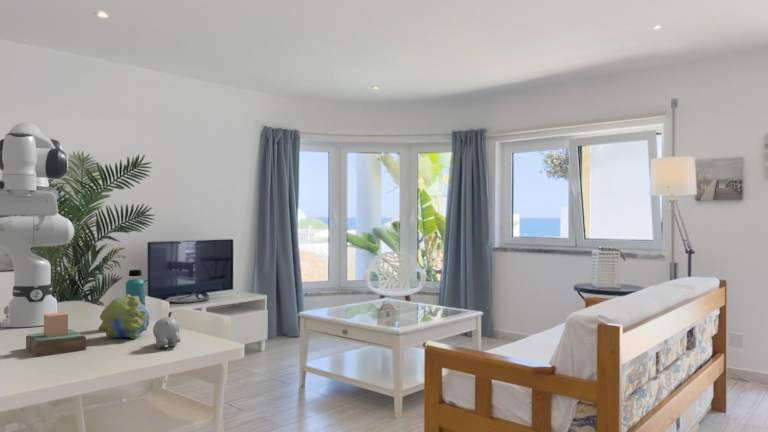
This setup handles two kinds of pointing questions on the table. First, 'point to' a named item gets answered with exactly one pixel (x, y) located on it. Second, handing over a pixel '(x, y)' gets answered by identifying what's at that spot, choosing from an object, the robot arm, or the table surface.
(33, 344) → the green lidded wooden box
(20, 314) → the robot arm
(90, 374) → the table surface
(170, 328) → the round bodied animal figurine
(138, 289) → the beverage bottle
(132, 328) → the earth globe model
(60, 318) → the terracotta block
